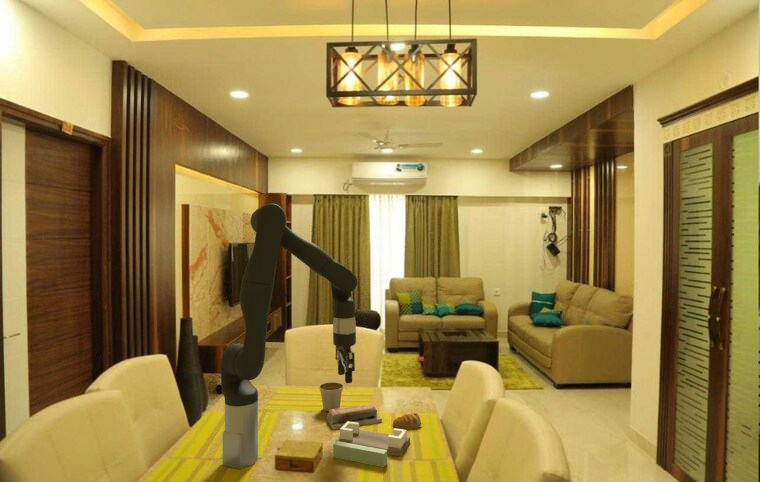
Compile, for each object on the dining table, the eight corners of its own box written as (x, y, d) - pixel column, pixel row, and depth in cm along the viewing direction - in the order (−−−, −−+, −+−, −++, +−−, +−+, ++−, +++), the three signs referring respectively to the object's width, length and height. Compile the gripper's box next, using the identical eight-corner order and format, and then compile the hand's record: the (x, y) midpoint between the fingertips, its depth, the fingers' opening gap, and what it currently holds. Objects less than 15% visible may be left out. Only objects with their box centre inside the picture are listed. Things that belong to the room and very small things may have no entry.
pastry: (397, 431, 153) (397, 420, 153) (390, 424, 159) (390, 412, 159) (422, 427, 156) (422, 416, 156) (414, 420, 162) (414, 409, 162)
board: (400, 456, 135) (400, 451, 135) (335, 445, 142) (335, 440, 142) (409, 442, 144) (409, 437, 144) (348, 432, 151) (348, 428, 151)
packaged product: (333, 416, 154) (325, 406, 163) (333, 431, 154) (325, 420, 163) (382, 409, 160) (372, 400, 169) (382, 423, 160) (372, 413, 169)
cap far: (351, 440, 142) (351, 430, 142) (339, 438, 143) (339, 428, 143) (359, 432, 148) (359, 422, 148) (347, 430, 149) (347, 421, 149)
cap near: (400, 448, 137) (400, 438, 137) (388, 446, 138) (388, 436, 138) (406, 439, 143) (406, 430, 143) (394, 437, 144) (394, 428, 144)
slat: (384, 467, 129) (384, 453, 129) (333, 457, 134) (333, 444, 134) (387, 463, 131) (387, 450, 131) (336, 454, 137) (336, 440, 137)
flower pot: (327, 415, 166) (327, 391, 166) (314, 408, 173) (314, 385, 173) (348, 409, 171) (348, 386, 171) (334, 402, 179) (335, 380, 179)
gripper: (328, 326, 157) (328, 373, 157) (339, 336, 143) (339, 387, 144) (349, 324, 159) (349, 370, 160) (362, 334, 146) (362, 384, 147)
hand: (344, 378), depth 152 cm, fingers open, 8 cm apart
